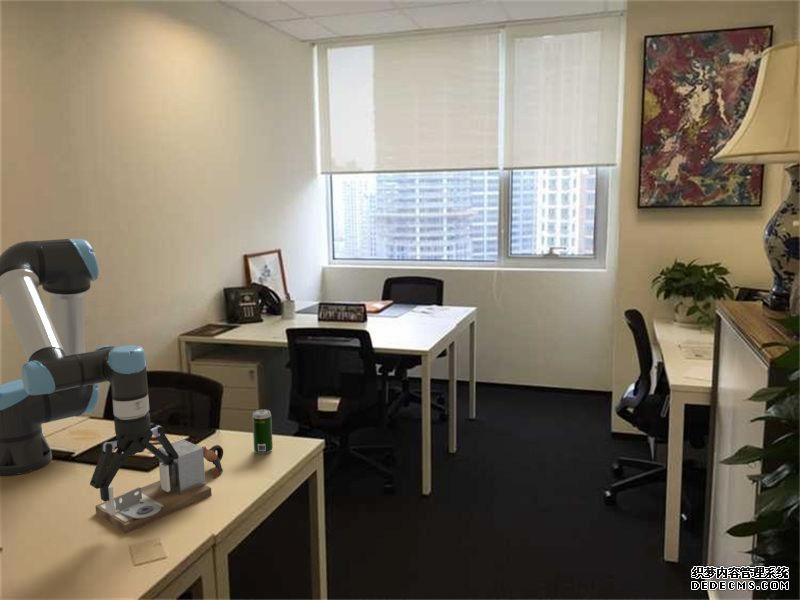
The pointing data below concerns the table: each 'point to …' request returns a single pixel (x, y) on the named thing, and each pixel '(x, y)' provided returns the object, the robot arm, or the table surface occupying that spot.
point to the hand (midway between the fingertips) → (139, 500)
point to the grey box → (186, 467)
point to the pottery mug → (214, 458)
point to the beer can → (262, 431)
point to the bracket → (135, 505)
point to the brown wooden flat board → (155, 495)
